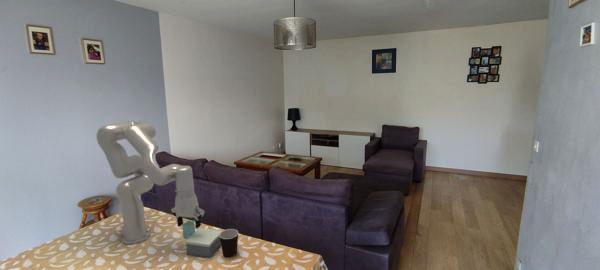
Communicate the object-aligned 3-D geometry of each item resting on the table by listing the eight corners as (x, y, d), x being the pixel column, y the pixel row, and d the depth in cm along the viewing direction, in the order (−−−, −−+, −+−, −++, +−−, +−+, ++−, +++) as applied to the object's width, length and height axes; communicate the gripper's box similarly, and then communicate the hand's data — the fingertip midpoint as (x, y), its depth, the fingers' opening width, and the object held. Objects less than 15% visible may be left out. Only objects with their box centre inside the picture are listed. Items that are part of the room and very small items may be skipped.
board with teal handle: (223, 233, 136) (222, 220, 134) (209, 247, 124) (208, 232, 123) (194, 229, 139) (193, 216, 138) (178, 242, 128) (177, 228, 127)
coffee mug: (234, 260, 124) (233, 239, 123) (217, 258, 126) (215, 237, 124) (244, 245, 136) (243, 226, 134) (228, 243, 137) (227, 225, 136)
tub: (187, 254, 129) (185, 243, 128) (200, 241, 139) (199, 230, 138) (210, 258, 126) (209, 246, 125) (222, 244, 136) (221, 233, 135)
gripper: (164, 194, 128) (168, 228, 131) (197, 196, 124) (200, 232, 127) (175, 188, 135) (178, 221, 138) (206, 190, 131) (209, 224, 134)
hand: (189, 226), depth 132 cm, fingers open, 9 cm apart
